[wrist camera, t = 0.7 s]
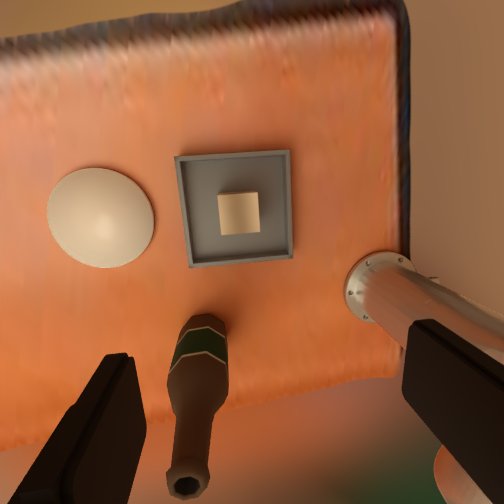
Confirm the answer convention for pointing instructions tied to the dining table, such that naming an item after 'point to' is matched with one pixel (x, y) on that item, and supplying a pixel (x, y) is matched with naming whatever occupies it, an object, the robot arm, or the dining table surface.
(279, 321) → the dining table surface
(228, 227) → the birch block
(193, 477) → the beer bottle
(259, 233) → the gray bin
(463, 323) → the robot arm
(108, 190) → the off-white plate
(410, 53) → the dining table surface
